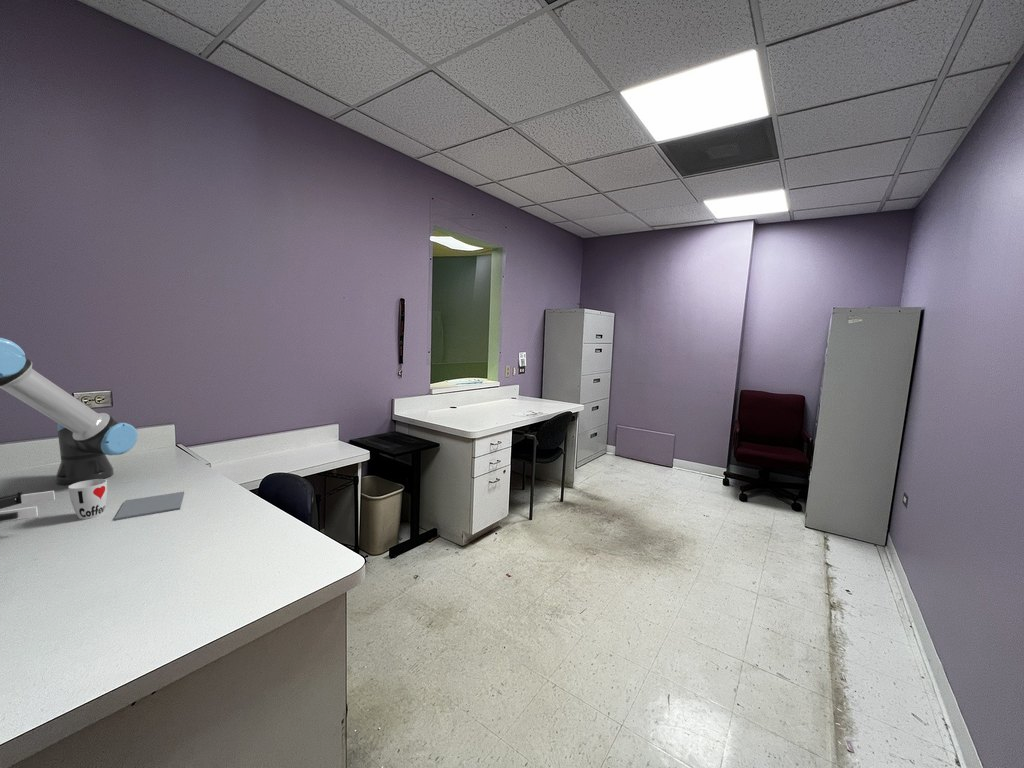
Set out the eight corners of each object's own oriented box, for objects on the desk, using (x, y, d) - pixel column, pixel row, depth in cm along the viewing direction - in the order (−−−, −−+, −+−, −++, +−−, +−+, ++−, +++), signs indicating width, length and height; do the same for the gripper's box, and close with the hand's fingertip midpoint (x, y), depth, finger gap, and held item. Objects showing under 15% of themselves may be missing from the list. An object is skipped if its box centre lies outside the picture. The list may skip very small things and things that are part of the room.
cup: (73, 524, 118) (70, 490, 117) (69, 516, 123) (66, 484, 122) (112, 514, 125) (109, 483, 124) (107, 507, 130) (104, 477, 129)
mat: (125, 502, 134) (125, 500, 134) (184, 493, 143) (184, 491, 143) (114, 520, 121) (114, 518, 121) (180, 509, 130) (179, 507, 130)
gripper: (-47, 516, 117) (61, 500, 129) (-105, 555, 96) (30, 532, 108) (-50, 490, 116) (59, 477, 128) (-109, 524, 96) (27, 505, 108)
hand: (46, 502), depth 118 cm, fingers open, 13 cm apart
